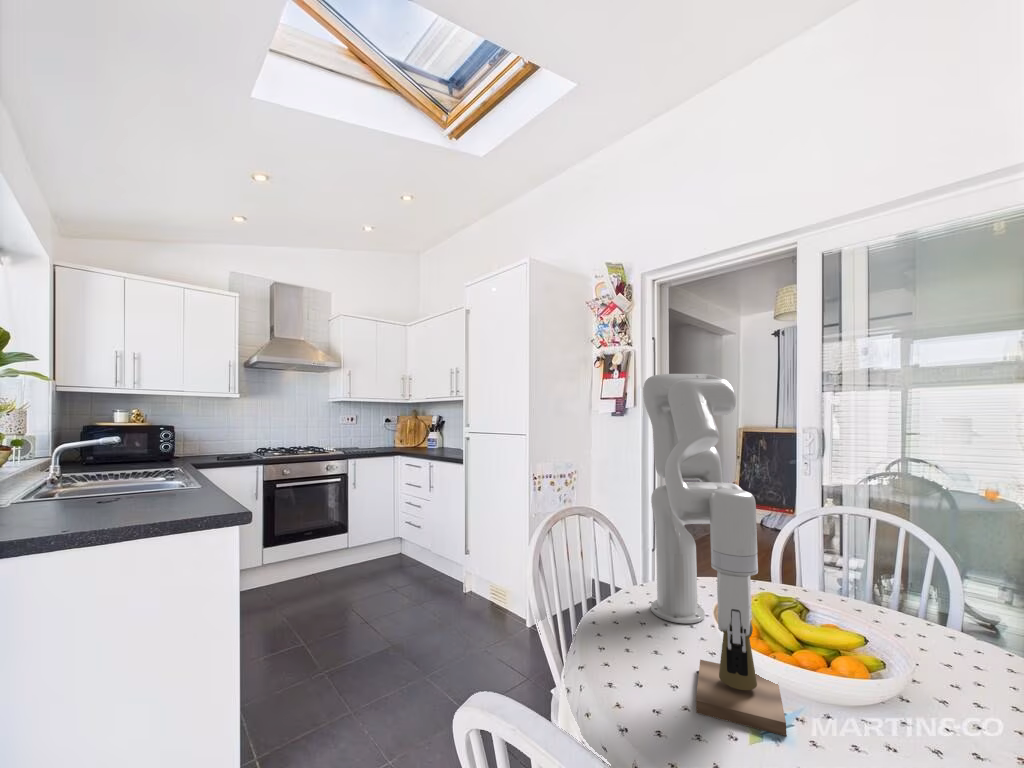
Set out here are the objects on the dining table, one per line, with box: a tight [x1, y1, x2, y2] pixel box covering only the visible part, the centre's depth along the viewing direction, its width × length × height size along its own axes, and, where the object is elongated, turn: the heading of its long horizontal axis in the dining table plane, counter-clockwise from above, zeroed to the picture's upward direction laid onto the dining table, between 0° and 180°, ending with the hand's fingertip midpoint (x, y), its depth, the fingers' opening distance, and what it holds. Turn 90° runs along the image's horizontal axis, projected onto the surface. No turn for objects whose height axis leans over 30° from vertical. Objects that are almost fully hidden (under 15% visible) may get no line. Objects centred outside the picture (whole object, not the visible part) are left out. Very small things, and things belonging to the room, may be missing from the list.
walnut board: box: [695, 659, 788, 737], centre depth 80 cm, size 14×13×2 cm
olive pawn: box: [719, 612, 757, 690], centre depth 80 cm, size 6×6×11 cm
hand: (737, 665), depth 80 cm, fingers closed on olive pawn, 4 cm apart
